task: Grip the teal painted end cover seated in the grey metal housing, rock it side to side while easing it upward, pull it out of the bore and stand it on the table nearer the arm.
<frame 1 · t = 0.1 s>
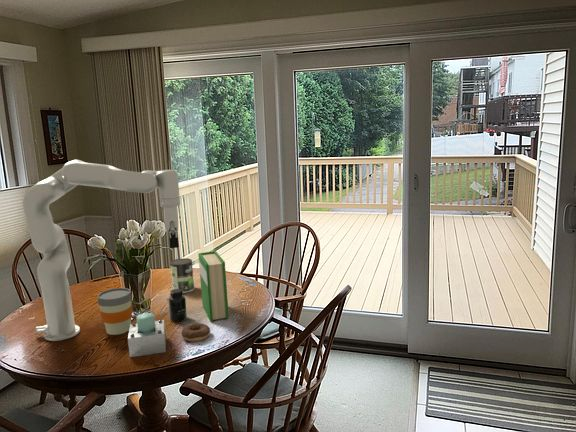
hand: (174, 244, 189), 31 cm above the table, tool pointing down, fingers open, 9 cm apart
hardback book: (215, 313, 200), on the table
donut: (196, 337, 179), on the table
supplement bottle: (178, 319, 196), on the table
reusable coffee cup: (118, 330, 187), on the table
housing: (148, 346, 172), on the table
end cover: (148, 348, 172), resting in housing
coffee can: (183, 290, 229), on the table
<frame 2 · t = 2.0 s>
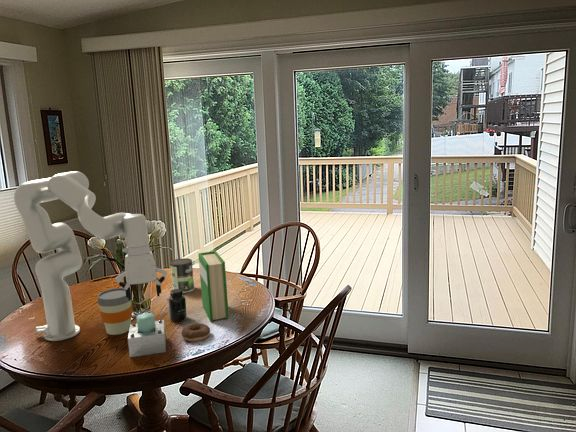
hand: (144, 297, 168), 19 cm above the table, tool pointing down, fingers open, 9 cm apart
nothing on the table moved.
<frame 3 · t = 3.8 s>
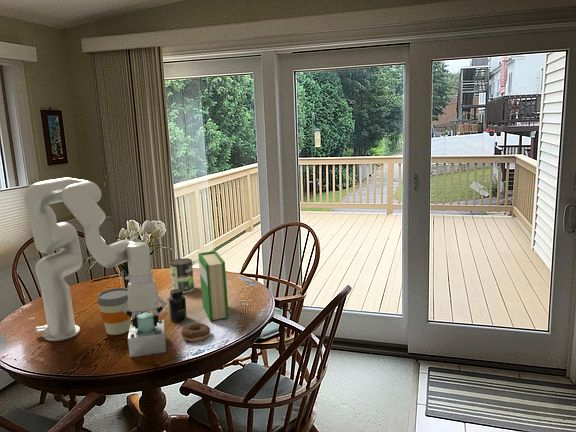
hand: (146, 325, 170), 8 cm above the table, tool pointing down, fingers closed on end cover, 6 cm apart
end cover: (148, 348, 172), resting in housing, touching gripper
everything else where it was.
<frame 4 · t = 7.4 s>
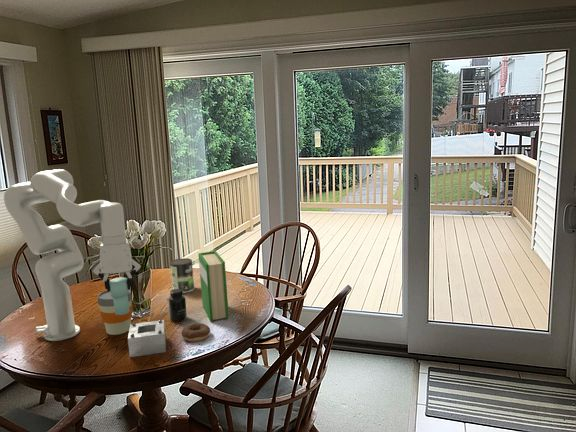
hand: (119, 289, 166), 23 cm above the table, tool pointing down, fingers closed on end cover, 6 cm apart
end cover: (122, 313, 167), point 14 cm above the table, touching gripper
everything else where it was.
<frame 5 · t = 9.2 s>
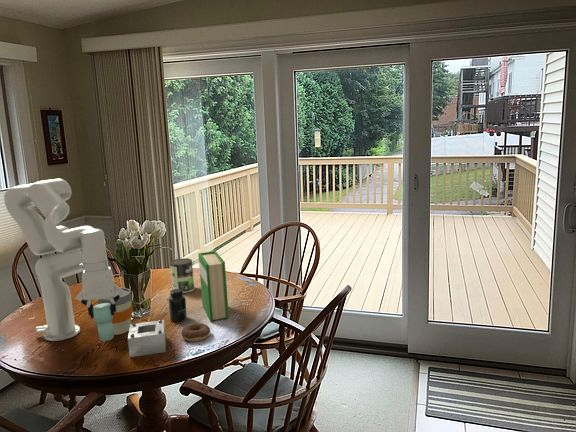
hand: (103, 314, 166), 14 cm above the table, tool pointing down, fingers closed on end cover, 6 cm apart
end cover: (107, 339, 167), point 5 cm above the table, touching gripper
everything else where it was.
when the fingers open (9 cm above the table, at t = 10.9 s): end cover stays where it is, on the table.
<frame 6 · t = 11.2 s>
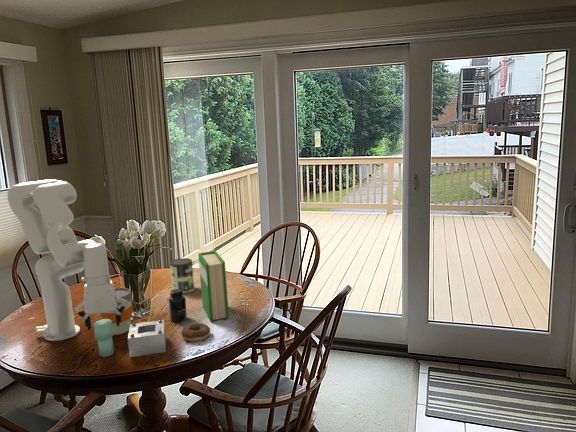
hand: (104, 326, 167), 10 cm above the table, tool pointing down, fingers open, 9 cm apart
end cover: (107, 354, 168), on the table
everything else where it was.
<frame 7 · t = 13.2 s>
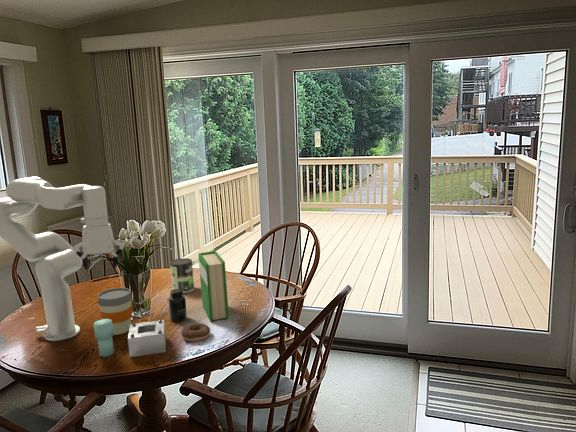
hand: (101, 267, 172), 28 cm above the table, tool pointing down, fingers open, 9 cm apart
nothing on the table moved.
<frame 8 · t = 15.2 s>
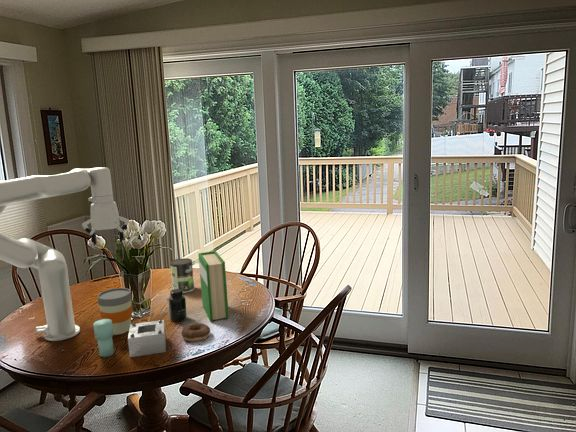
hand: (108, 242, 188), 33 cm above the table, tool pointing down, fingers open, 9 cm apart
nothing on the table moved.
at the end: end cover inside the target area (0.5 cm from its centre), on the table; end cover tilted 0°; the gripper is holding nothing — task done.
